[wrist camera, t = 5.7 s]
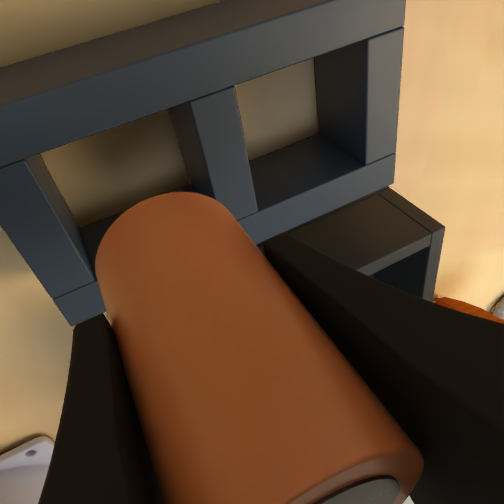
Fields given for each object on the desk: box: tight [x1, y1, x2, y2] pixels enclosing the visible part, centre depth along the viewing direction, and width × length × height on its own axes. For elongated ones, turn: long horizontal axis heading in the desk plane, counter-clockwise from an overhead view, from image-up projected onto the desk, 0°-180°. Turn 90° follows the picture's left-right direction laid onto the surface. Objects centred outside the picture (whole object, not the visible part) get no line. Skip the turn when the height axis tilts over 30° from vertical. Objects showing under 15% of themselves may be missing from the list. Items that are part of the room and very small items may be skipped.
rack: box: [0, 0, 406, 326], centre depth 16 cm, size 8×14×4 cm, turn 100°
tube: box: [95, 192, 424, 504], centre depth 9 cm, size 4×4×8 cm
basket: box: [256, 186, 445, 302], centre depth 25 cm, size 15×13×5 cm
